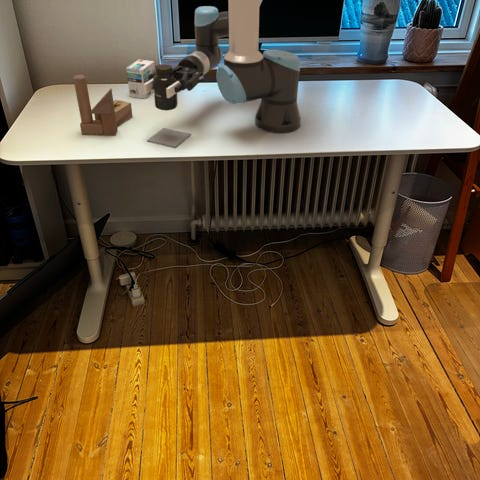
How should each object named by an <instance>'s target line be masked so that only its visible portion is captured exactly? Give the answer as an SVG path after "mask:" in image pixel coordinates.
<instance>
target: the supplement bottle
mask: <svg viewBox="0 0 480 480" xmlns="http://www.w3.org/2000/svg"><path fill="white" fill-rule="evenodd" d="M172 69H173V66H172V65H170V64H167V63H162V64H157V65H155V72H156V74H157V75H155V76H154V78H153V86H154V92H153V94H154V95H153V97H154V107H155V108H156V109H158V110H160V111H172V110H174V109H176V108H177V107H178V102H179V101H178V93H176V94H174V95H173V96H172V97H170V98H167V93H166V88H168V87H169V86H171V85H172V84H174V83H175V82H177V81H178V80H176V77H175V76H174V75H172V74H173V71H172Z"/></svg>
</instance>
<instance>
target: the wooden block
mask: <svg viewBox="0 0 480 480" xmlns="http://www.w3.org/2000/svg"><path fill="white" fill-rule="evenodd" d="M72 78H73V79H72V80H73V84H74V90H75V95H76V99H77V106H78V111H79V117H80V121H81V122H80V124H79V127H80V132H81V135H93V136H98V135H99V136H116V134H117V133H118V127H117V123H116V116H115V111H114V110H115V109H114V102H113V101H114V98H113V97H114V96H113V89H112V88H109V90H108V91H107V92H106V93H105V94H104V95H103V96H102V97H101V98H100V100H98V102H97V103H96V104H95V106H93V107H92V106H91V100H90V96H89V94H90V93H89V89H88V82H87V76H85V74H78V75H74V76H73V77H72ZM93 114H101V118H102V122H101V121H100V120H95V119H93V118H94V117H93Z"/></svg>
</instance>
